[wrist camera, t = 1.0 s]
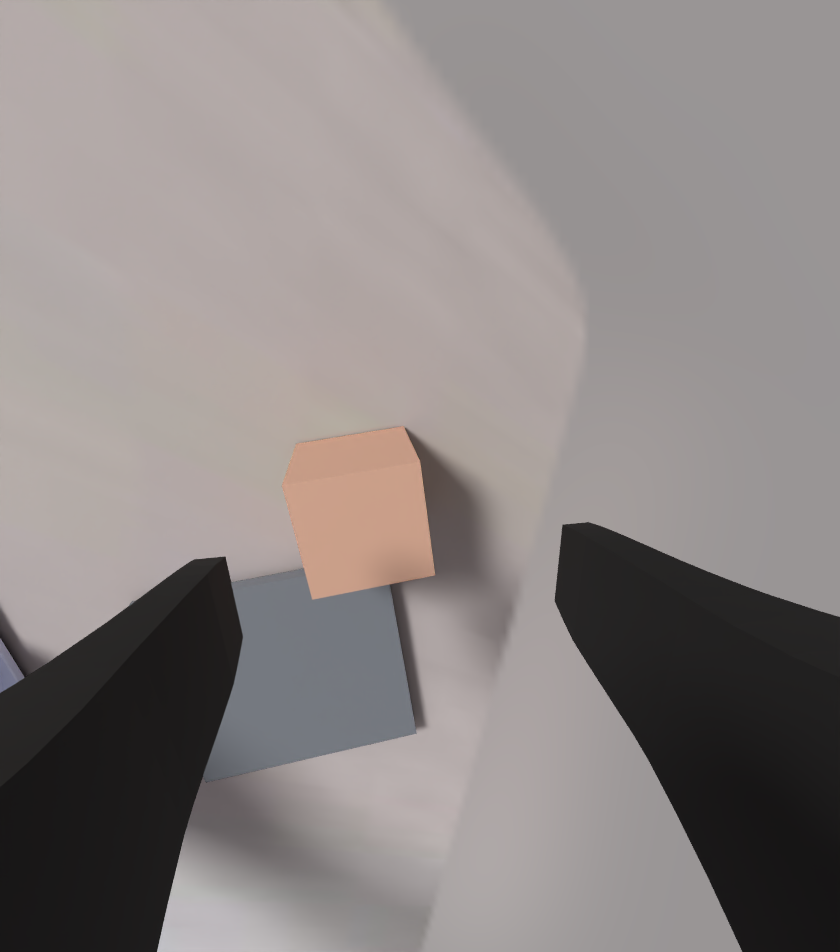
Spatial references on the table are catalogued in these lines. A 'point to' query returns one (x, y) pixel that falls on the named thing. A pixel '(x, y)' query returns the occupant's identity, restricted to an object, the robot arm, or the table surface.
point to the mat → (310, 676)
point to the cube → (359, 512)
